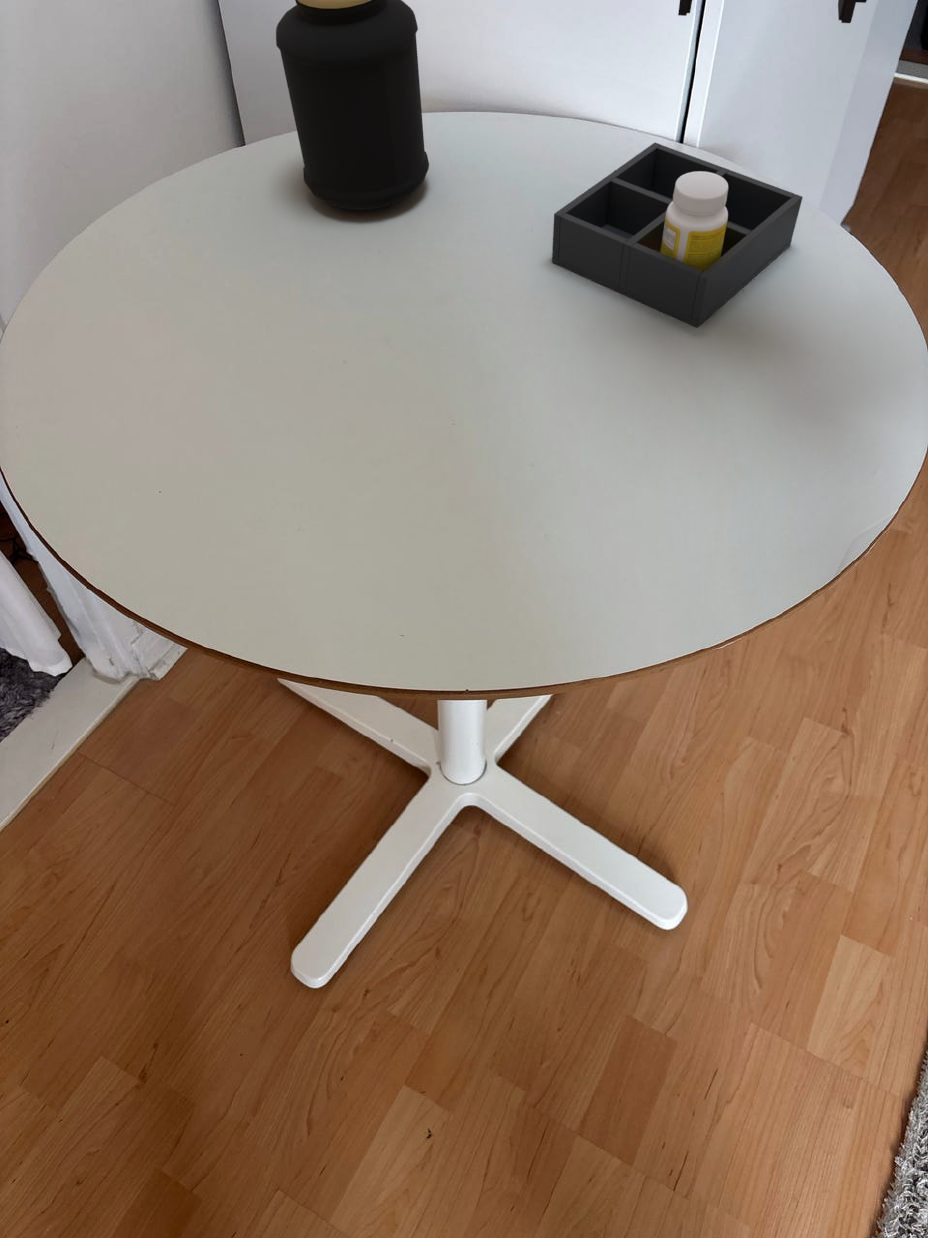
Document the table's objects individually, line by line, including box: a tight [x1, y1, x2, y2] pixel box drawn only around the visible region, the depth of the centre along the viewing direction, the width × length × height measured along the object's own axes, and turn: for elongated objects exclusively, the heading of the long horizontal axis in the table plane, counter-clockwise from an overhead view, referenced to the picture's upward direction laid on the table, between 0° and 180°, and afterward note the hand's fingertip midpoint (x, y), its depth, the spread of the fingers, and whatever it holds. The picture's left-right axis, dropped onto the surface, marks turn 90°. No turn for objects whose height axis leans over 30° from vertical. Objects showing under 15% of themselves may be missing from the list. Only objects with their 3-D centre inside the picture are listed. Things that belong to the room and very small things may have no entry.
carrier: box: [551, 142, 804, 328], centre depth 83 cm, size 15×15×4 cm
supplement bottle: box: [660, 171, 728, 271], centre depth 78 cm, size 5×5×8 cm
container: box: [275, 0, 430, 211], centre depth 86 cm, size 12×12×18 cm
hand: (763, 10), depth 61 cm, fingers open, 9 cm apart
